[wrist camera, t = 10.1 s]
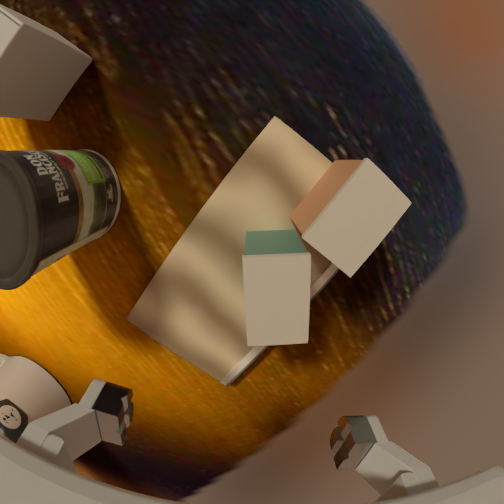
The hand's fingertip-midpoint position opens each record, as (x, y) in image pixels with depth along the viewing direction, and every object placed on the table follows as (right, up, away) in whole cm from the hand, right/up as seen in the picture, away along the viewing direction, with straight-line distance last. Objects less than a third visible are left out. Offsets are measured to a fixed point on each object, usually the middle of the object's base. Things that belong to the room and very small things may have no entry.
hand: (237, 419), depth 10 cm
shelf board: (0, +5, +21) cm, 21 cm away
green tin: (+2, +5, +19) cm, 20 cm away
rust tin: (+8, +11, +17) cm, 22 cm away
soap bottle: (-23, +27, +14) cm, 38 cm away
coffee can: (-18, +12, +19) cm, 29 cm away
